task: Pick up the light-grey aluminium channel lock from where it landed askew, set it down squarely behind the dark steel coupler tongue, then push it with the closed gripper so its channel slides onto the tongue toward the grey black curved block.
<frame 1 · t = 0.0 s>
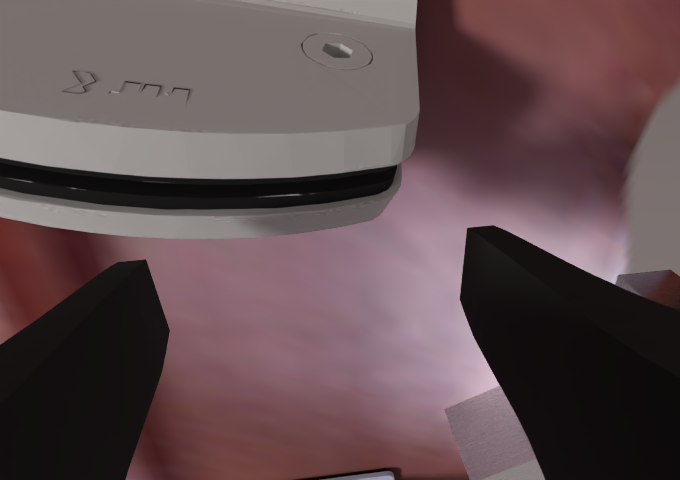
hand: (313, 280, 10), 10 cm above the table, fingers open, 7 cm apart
lock: (512, 405, 29), on the table
grey black curved block: (186, 45, 17), on the table
coupler: (563, 322, 26), on the table
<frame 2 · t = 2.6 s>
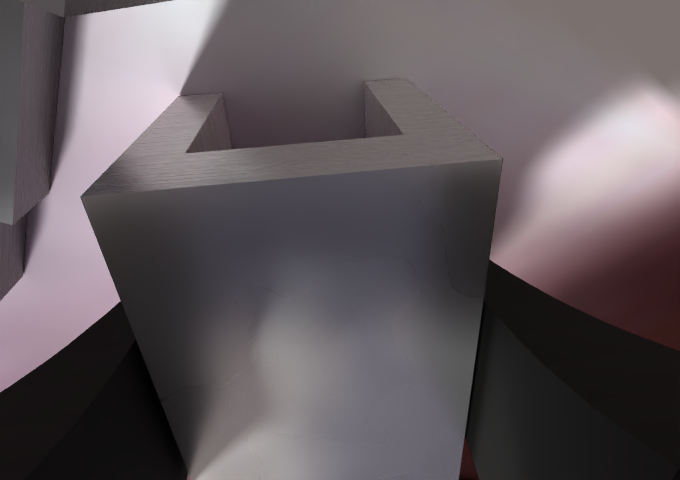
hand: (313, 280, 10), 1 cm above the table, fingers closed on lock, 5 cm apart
lock: (310, 248, 11), on the table, touching gripper
coupler: (8, 68, 9), on the table
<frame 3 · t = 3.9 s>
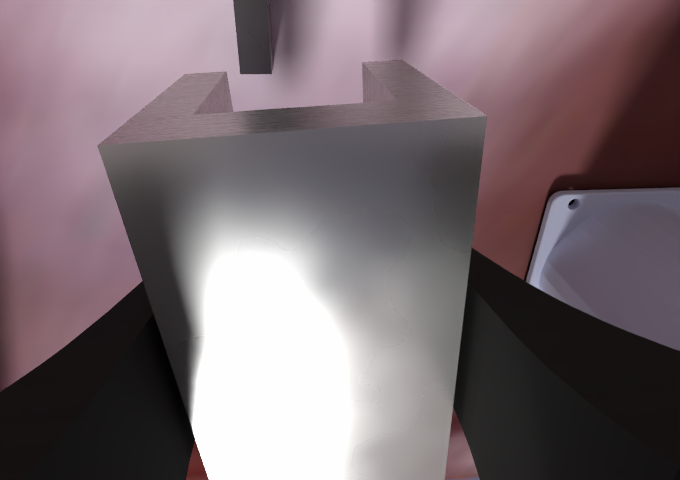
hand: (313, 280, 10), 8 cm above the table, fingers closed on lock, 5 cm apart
lock: (309, 225, 12), point 6 cm above the table, touching gripper
when the fingers open (2 cm above the table, at t = 5.5 s): lock stays where it is, on the table.
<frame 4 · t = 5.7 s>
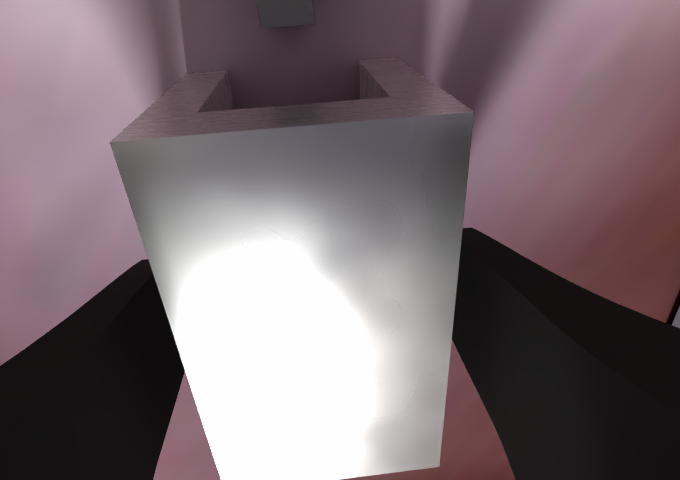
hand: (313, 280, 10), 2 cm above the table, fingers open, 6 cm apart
lock: (309, 219, 12), on the table
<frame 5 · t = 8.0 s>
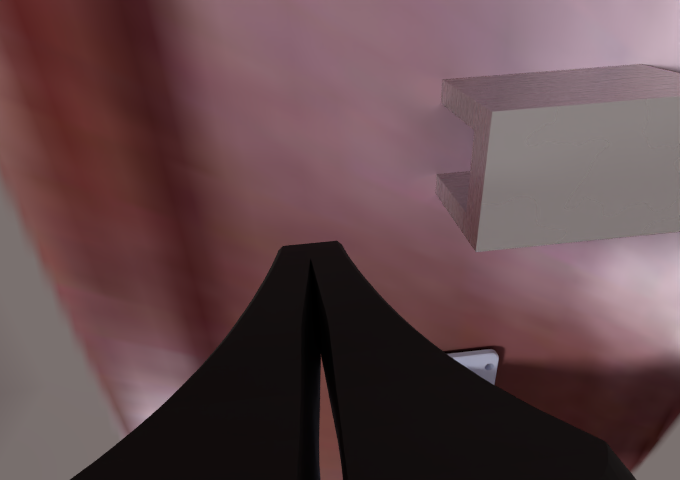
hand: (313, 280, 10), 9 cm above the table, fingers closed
lock: (531, 131, 19), on the table
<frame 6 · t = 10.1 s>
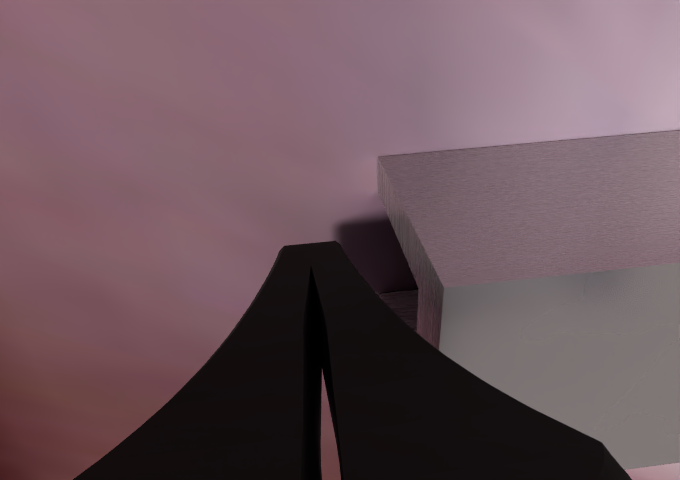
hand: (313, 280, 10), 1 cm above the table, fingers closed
lock: (531, 231, 11), on the table, touching gripper
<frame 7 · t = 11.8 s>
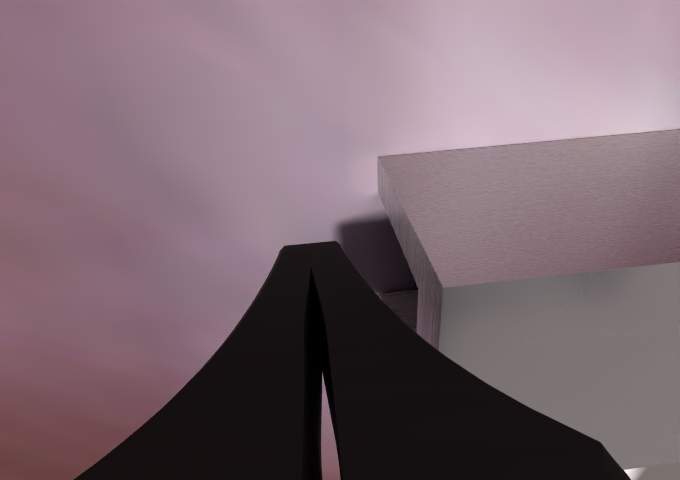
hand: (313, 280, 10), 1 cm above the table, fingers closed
lock: (531, 231, 11), on the table, touching gripper
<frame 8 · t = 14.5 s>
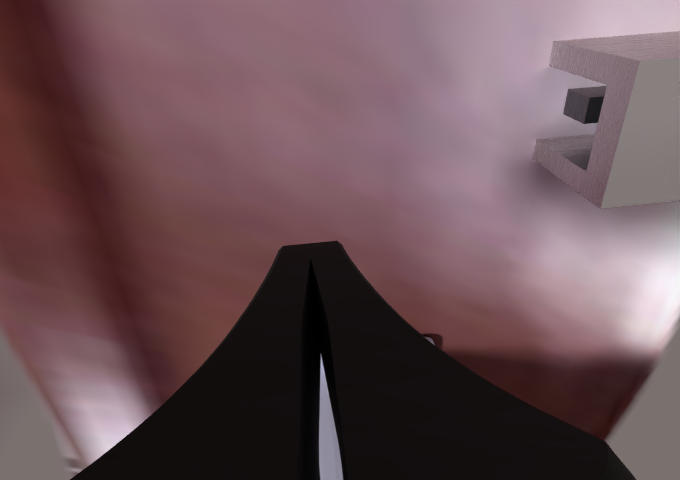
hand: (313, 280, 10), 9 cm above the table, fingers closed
lock: (633, 95, 19), on the table
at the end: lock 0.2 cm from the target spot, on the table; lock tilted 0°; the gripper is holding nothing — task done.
